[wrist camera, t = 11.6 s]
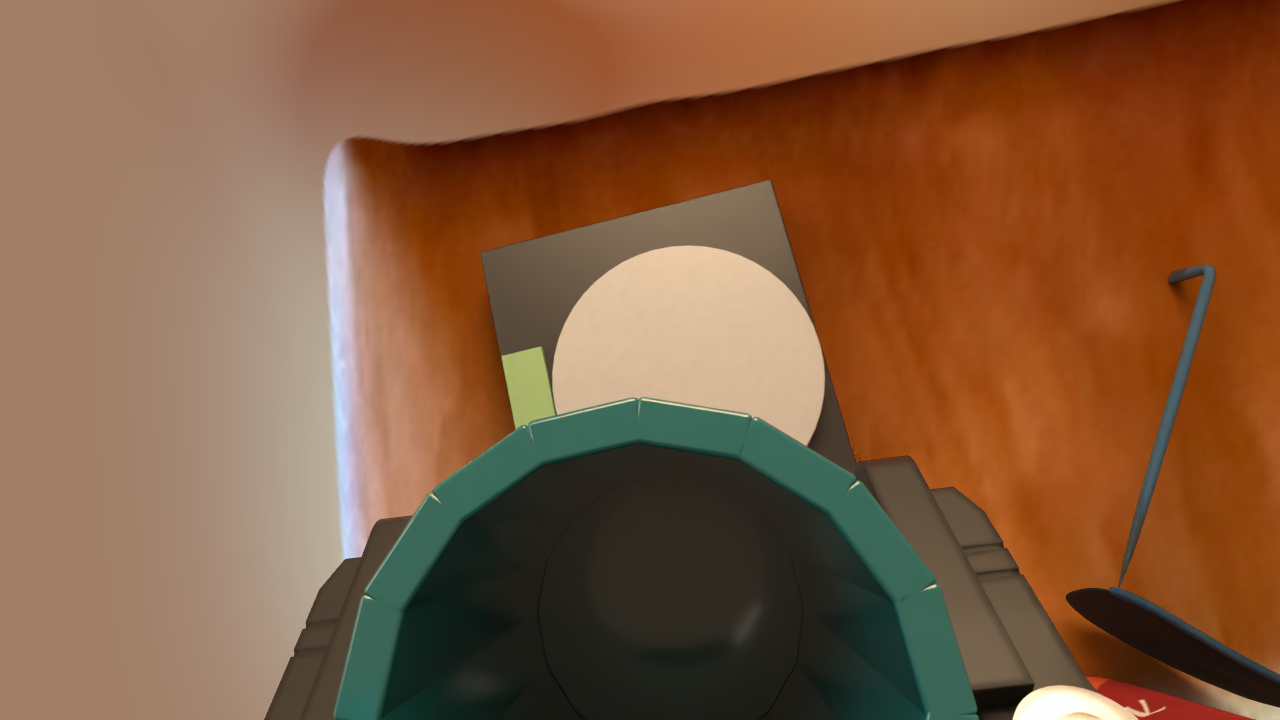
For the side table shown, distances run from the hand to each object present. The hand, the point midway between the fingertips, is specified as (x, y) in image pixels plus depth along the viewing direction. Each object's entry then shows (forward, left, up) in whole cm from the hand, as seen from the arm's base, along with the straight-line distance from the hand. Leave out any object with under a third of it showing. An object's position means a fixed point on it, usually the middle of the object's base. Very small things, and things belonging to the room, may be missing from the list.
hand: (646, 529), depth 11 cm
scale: (+1, +5, -18) cm, 19 cm away
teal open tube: (0, -2, -4) cm, 5 cm away
